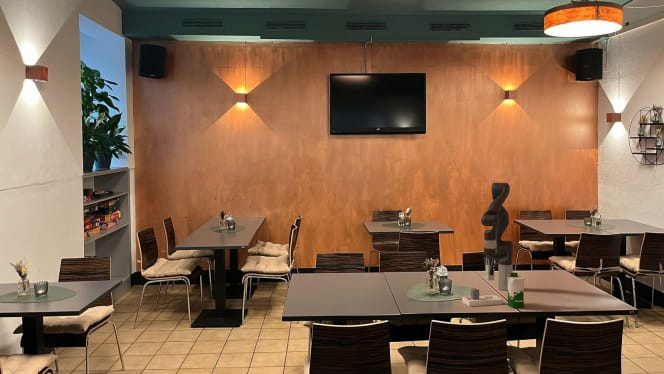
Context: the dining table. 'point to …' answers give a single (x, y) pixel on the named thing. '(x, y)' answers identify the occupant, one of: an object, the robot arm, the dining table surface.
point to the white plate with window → (481, 299)
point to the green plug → (488, 273)
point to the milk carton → (515, 290)
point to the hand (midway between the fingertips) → (490, 274)
